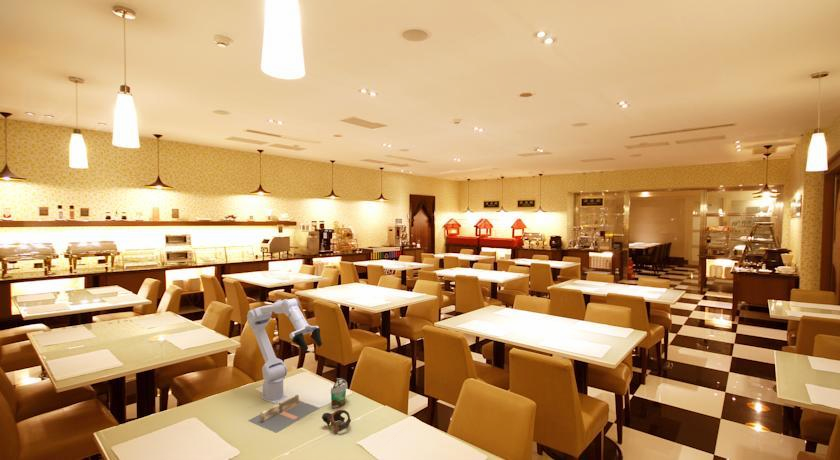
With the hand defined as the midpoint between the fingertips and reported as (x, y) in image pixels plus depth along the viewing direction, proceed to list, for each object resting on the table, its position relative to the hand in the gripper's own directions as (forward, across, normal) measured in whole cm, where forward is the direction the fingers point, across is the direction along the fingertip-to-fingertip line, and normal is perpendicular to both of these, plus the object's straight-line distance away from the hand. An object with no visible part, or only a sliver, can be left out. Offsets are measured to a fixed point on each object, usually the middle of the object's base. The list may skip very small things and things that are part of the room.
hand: (313, 347), depth 173 cm
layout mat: (+13, -6, +30) cm, 33 cm away
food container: (+22, +15, +20) cm, 34 cm away
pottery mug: (+32, 0, +12) cm, 34 cm away
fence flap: (+11, -12, +31) cm, 35 cm away
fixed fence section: (+11, -1, +32) cm, 33 cm away
